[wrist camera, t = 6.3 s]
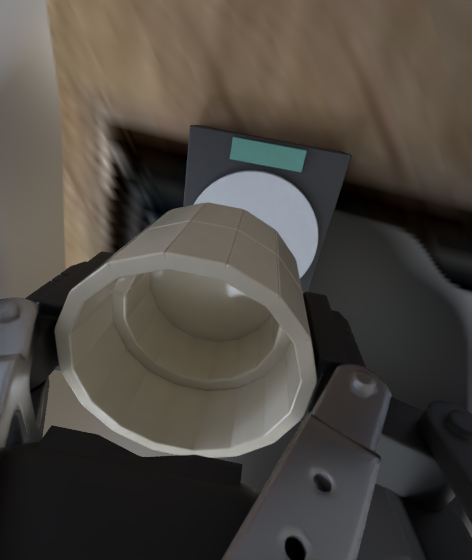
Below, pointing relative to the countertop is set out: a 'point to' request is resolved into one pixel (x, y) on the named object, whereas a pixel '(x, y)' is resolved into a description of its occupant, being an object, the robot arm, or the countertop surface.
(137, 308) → the white cup
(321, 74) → the countertop surface
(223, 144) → the scale
